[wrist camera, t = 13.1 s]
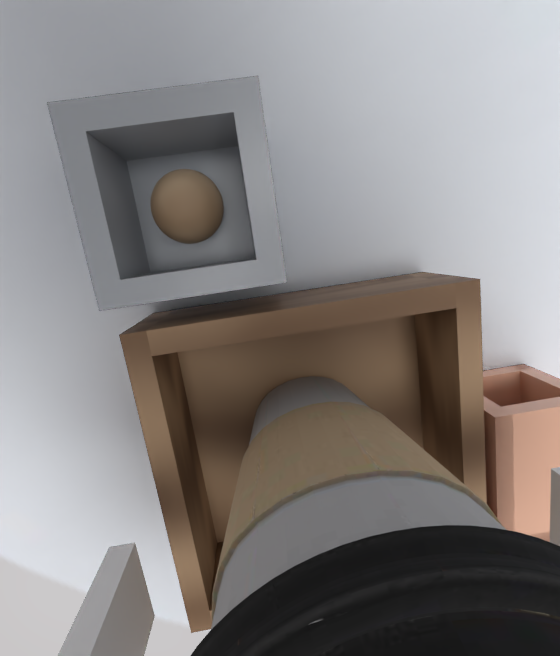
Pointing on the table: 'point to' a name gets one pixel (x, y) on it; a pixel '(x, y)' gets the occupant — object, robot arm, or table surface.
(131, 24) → the table surface
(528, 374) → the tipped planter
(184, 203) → the cork ball
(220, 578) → the coffee cup
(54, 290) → the table surface
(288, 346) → the walnut box
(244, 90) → the grey tub
